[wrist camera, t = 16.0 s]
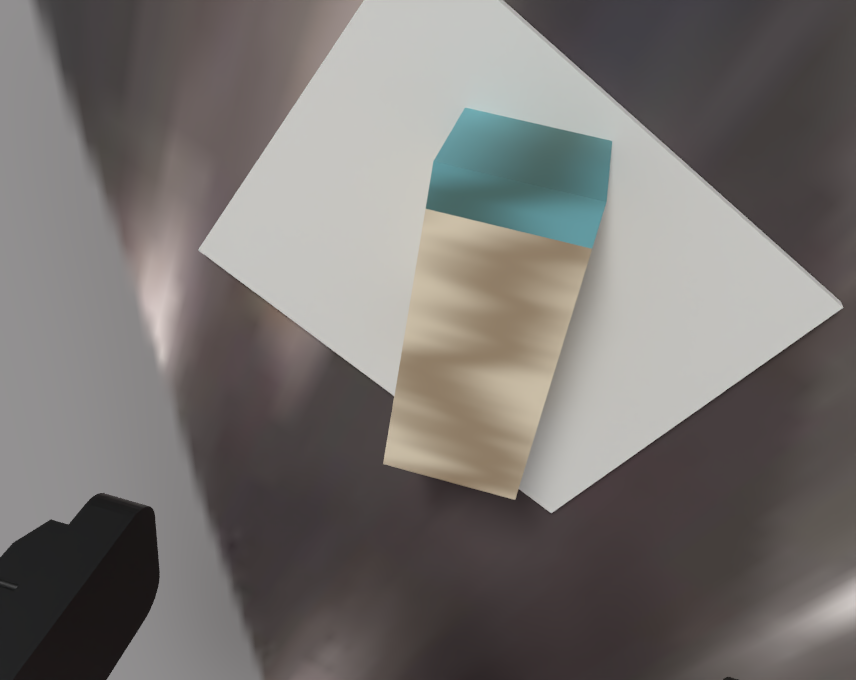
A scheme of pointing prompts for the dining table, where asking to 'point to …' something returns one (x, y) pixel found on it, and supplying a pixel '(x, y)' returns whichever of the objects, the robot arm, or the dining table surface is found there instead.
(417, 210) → the grey mat
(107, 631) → the robot arm
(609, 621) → the dining table surface
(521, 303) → the beige tall box
